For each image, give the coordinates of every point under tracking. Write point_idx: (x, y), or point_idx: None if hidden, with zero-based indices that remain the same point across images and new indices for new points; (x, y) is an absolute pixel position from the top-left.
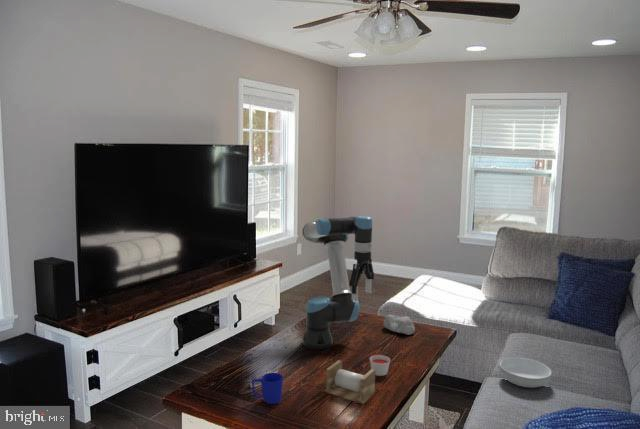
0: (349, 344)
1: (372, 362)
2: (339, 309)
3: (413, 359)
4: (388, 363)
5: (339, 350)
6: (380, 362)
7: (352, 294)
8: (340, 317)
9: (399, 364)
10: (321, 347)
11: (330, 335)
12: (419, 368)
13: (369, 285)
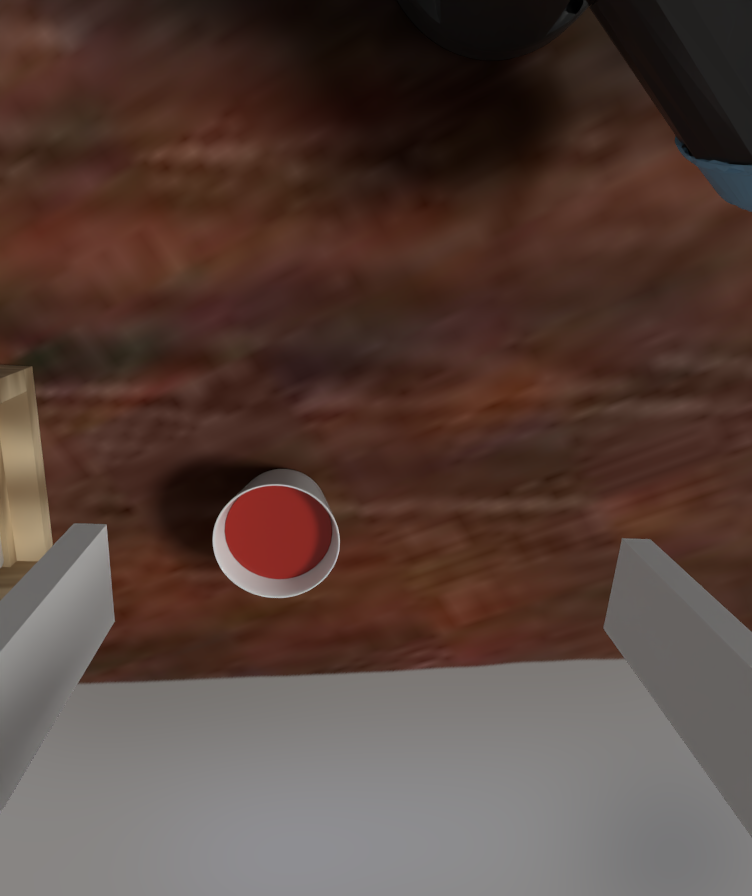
0: (581, 176)
1: (217, 518)
2: (674, 5)
3: (527, 593)
4: (270, 591)
5: (453, 157)
6: (291, 530)
7: (23, 596)
8: (626, 56)
9: (433, 556)
10: (408, 11)
11: (536, 14)
12: (436, 649)
13: (682, 706)
